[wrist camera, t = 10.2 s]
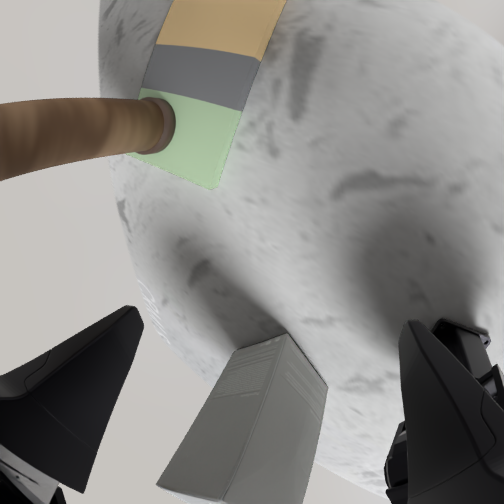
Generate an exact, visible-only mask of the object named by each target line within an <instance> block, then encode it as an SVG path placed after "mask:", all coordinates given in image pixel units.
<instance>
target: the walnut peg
mask: <svg viewBox="0 0 504 504" xmlns="http://www.w3.org/2000/svg"><path fill="white" fill-rule="evenodd" d="M175 128H176V117H175V113H174V110H173V108H172V106H171V105H170V104H169V103H168V102H167V101H166V100H164V99H161V98H154V97H145V98H142V99H140V100H134V99H117V98H56V99H42V100H30V101H21V102H12V103H5V104H0V181H2V180H5V179H9V178H12V177H15V176H19V175H22V174H26V173H30V172H33V171H37V170H41V169H45V168H49V167H53V166H58V165H63V164H67V163H72V162H77V161H82V160H87V159H93V158H99V157H105V156H111V155H118V154H125V153H132V152H136V153H138V154H141V155H147V154H155V153H158V152H161V151H162V150H164V149H165V148H166V147H167V146H168V145H169V143H170V142H171V140H172V138H173V136H174V133H175Z"/></svg>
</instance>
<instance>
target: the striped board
mask: <svg viewBox="0 0 504 504" xmlns="http://www.w3.org/2000/svg"><path fill="white" fill-rule="evenodd" d="M285 3H286V0H174V1H173V3H172V5H171V8H170V10H169V12H168V14H167V17H166V19H165V21H164V24H163V26H162V29H161V31H160V34H159V36H158V39H157V41H156V44H155V47H154V50H153V52H152V55H151V58H150V61H149V64H148V67H147V70H146V73H145V76H144V80H143V83H142V86H141V90H140V93H139V97H138V100H140V99H142V98H145V97H154V98H161V99H164V100H166V101H167V102H168V103H169V104H170V105H171V106H172V108H173V110H174V113H175V117H176V128H175V133H174V136H173V138H172V140H171V142H170V143H169V145H168V146H167V147H166V148H165V149H164V150H162V151H161V152H158V153H155V154H147V155H141V154H138V153H136V152H132V153H125V154H126V155H129V156H131V157H134V158H136V159H139V160H141V161H143V162H146V163H148V164H151V165H153V166H155V167H158V168H160V169H163V170H165V171H167V172H170V173H172V174H174V175H177V176H179V177H181V178H183V179H186V180H188V181H190V182H193V183H195V184H197V185H199V186H202V187H204V188H206V189H208V190H211V189H214V188H217V187H218V183H219V180H220V177H221V174H222V171H223V167H224V164H225V161H226V158H227V155H228V152H229V149H230V146H231V143H232V140H233V137H234V134H235V131H236V128H237V125H238V122H239V119H240V117H241V114H242V111H243V108H244V105H245V102H246V100H247V97H248V94H249V91H250V89H251V86H252V83H253V81H254V78H255V75H256V73H257V70H258V68H259V65H260V62H261V60H262V57H263V55H264V52H265V50H266V47H267V45H268V42H269V40H270V38H271V35H272V33H273V30H274V28H275V26H276V23H277V21H278V19H279V16H280V14H281V12H282V9H283V7H284V5H285Z"/></svg>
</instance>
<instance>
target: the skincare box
mask: <svg viewBox="0 0 504 504" xmlns="http://www.w3.org/2000/svg"><path fill="white" fill-rule="evenodd" d="M327 391H328V387H327V385H326V384H325V383H324V382H323V380H322V379H321V378H320V376H319V375H318V374H317V372H316V371H315V370H314V368H313V367H312V366H311V364H310V363H309V362H308V360H307V359H306V358H305V356H304V355H303V353H302V352H301V351H300V349H299V348H298V347H297V345H296V344H295V343H294V341H293V340H292V339H291V337H290V336H289V335H288V334H284V335H281V336H278V337H275V338H272V339H270V340H267V341H264V342H262V343H258V344H255V345H252V346H249V347H246V348H242V349H238V350H237V351H235V352H234V353H233V354H232V356H231V358H230V360H229V361H228V363H227V365H226V367H225V368H224V370H223V372H222V374H221V376H220V377H219V379H218V381H217V383H216V384H215V386H214V388H213V390H212V391H211V393H210V395H209V397H208V398H207V400H206V402H205V404H204V406H203V407H202V409H201V410H200V412H199V414H198V416H197V417H196V419H195V421H194V422H193V424H192V426H191V427H190V429H189V431H188V433H187V434H186V436H185V438H184V439H183V441H182V443H181V444H180V446H179V448H178V449H177V451H176V452H175V454H174V456H173V457H172V459H171V461H170V462H169V464H168V466H167V467H166V469H165V470H164V472H163V474H162V475H161V477H160V479H159V480H158V482H157V483H156V485H157V486H158V487H160V488H161V489H163V490H165V491H166V492H168V493H170V494H171V495H173V496H175V497H177V498H178V499H180V500H182V501H184V502H186V503H188V504H302V503H303V499H304V496H305V493H306V489H307V485H308V482H309V477H310V473H311V469H312V465H313V461H314V457H315V453H316V448H317V444H318V439H319V435H320V430H321V425H322V420H323V414H324V408H325V403H326V397H327Z"/></svg>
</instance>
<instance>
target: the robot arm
mask: <svg viewBox="0 0 504 504" xmlns="http://www.w3.org/2000/svg"><path fill="white" fill-rule="evenodd" d="M442 324H444V325H443V326H441V325H442ZM143 329H144V323H143V321H142V319H141V316H140V314H139V311H138V309H137V308H136V307H135V306H129V305H126V306H124V307H122V308H120V309H118V310H117V311H115V312H113V313H111V314H110V315H108V316H106V317H104V318H103V319H101V320H100V321H98V322H96V323H94V324H92V325H91V326H89V327H87V328H86V329H84V330H82V331H81V332H79V333H78V334H75V335H74V336H72V337H70V338H69V339H67V340H65V341H64V342H62V343H60V344H59V345H57V346H55V347H54V348H52V350H49V351H47V352H45V353H44V354H42V355H40V356H38V357H37V358H35V359H33V360H31V361H29V362H27V363H26V364H24V365H22V366H20V367H18V368H16V369H14V370H12V371H10V372H8V373H6V374H4V375H1V376H0V504H66V501H65V498H64V495H63V491H62V489H61V488H60V487H59V486H58V484H59V482H60V483H62V484H64V485H66V486H68V487H70V488H72V489H74V490H76V491H78V492H80V493H82V494H83V493H84V491H85V489H86V485H87V482H88V479H89V476H90V473H91V470H92V466H93V464H94V460H95V458H96V455H97V451H98V449H99V446H100V443H101V440H102V438H103V435H104V432H105V429H106V427H107V424H108V421H109V419H110V416H111V414H112V411H113V408H114V406H115V404H116V401H117V399H118V396H119V394H120V391H121V389H122V386H123V384H124V382H125V379H126V377H127V375H128V372H129V370H130V368H131V365H132V362H133V360H134V357H135V353H136V350H137V347H138V344H139V341H140V338H141V335H142V332H143ZM485 341H486V342H485ZM490 342H491V339H490V337H489V336H488V335H486V334H483V333H481V332H478V331H476V330H473V329H470V328H468V327H465V326H463V325H460V324H458V323H455V322H452V321H450V320H447V319H444V318H443V319H440V320H439V321H438V322H437V323H436V325H435V326H434V328H433V329H432V331H431V332H430V331H429V330H428V329H427V328H426V327H425V326H424V325H423V324H422V323H421V322H420V321H419V320H407V321H406V322H405V324H404V327H403V330H402V332H401V335H400V338H399V359H400V379H401V392H402V400H403V408H404V416H405V421H403V422H401V423H399V426H398V429H397V432H396V435H395V437H394V440H393V443H392V446H391V448H390V451H389V454H388V456H387V459H386V462H385V466H384V475H385V481H386V484H387V486H388V488H389V489H387V490H386V495H387V496H388V498H389V499H390V501H391V503H392V504H504V375H503V373H502V371H501V369H500V368H499V366H498V364H496V365H494V366H493V367H492V365H491V363H490V360H489V357H488V355H487V352H486V350H485V349H486V348H487V347H488V345H489V344H490Z"/></svg>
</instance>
